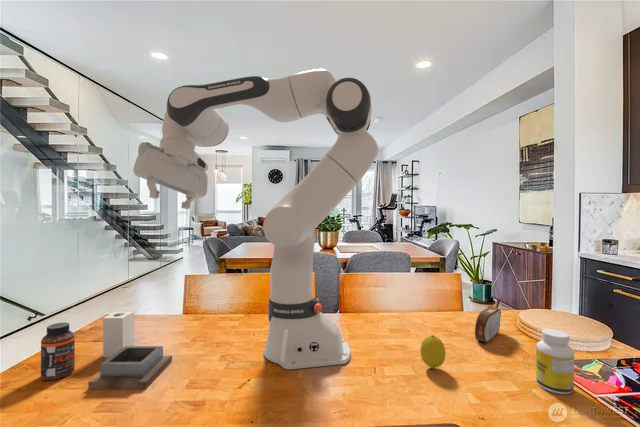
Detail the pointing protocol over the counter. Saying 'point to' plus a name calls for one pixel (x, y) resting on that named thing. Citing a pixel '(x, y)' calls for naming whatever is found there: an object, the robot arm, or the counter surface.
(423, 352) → the lemon
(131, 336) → the nylon bushing block
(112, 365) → the socket collar
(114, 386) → the walnut jig board
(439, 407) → the counter surface
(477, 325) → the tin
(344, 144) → the robot arm
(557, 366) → the pill bottle
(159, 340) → the counter surface
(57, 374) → the supplement bottle
